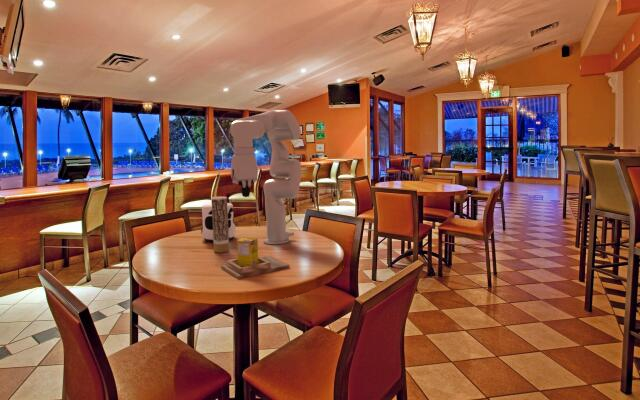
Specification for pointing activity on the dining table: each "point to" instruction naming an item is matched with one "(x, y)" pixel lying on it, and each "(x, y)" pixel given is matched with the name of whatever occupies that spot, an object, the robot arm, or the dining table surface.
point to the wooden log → (220, 224)
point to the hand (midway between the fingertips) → (246, 196)
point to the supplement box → (247, 251)
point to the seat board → (254, 267)
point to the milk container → (208, 222)
